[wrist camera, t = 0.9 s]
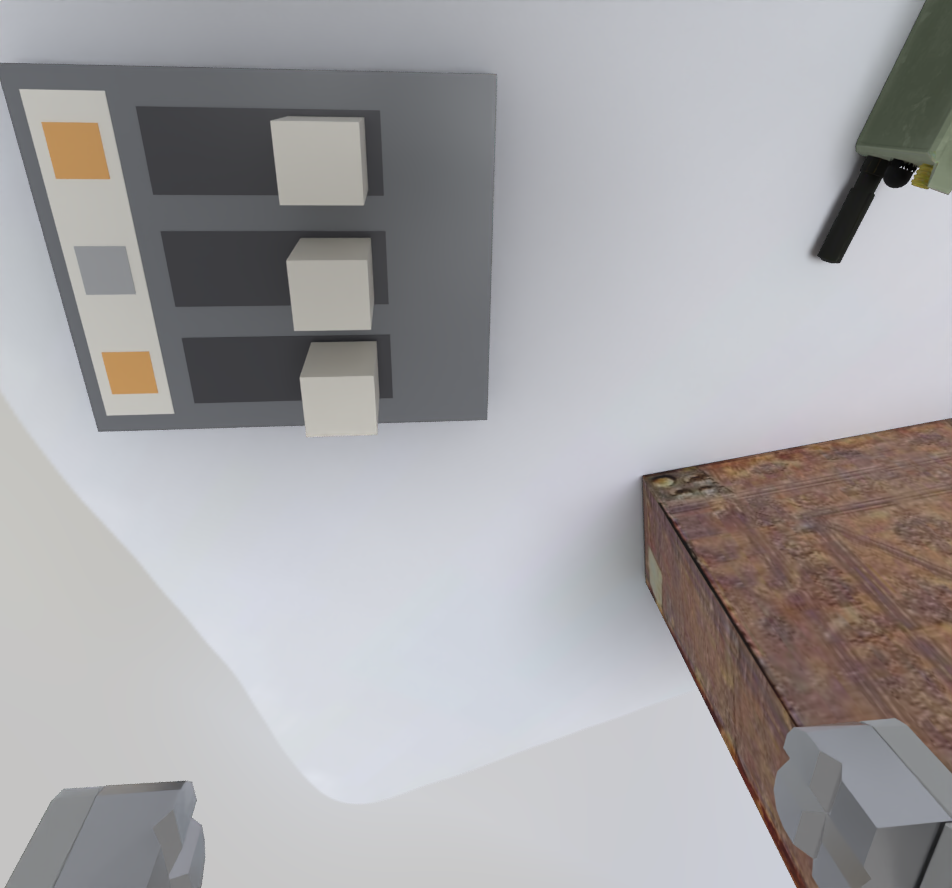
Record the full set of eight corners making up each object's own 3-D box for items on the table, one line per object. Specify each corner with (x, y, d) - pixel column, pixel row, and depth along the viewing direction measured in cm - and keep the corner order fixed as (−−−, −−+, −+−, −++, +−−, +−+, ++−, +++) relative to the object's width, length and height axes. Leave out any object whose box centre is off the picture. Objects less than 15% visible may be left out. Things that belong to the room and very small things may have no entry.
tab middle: (300, 238, 33) (286, 260, 29) (370, 237, 34) (366, 260, 29) (307, 300, 35) (294, 330, 31) (374, 299, 35) (371, 329, 31)
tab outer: (311, 342, 36) (299, 377, 32) (376, 341, 36) (373, 375, 32) (316, 396, 38) (306, 437, 33) (379, 394, 38) (377, 435, 34)
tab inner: (287, 116, 31) (270, 120, 27) (364, 117, 31) (359, 122, 27) (295, 189, 32) (279, 205, 28) (368, 189, 33) (363, 205, 28)
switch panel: (18, 64, 31) (-6, 62, 29) (491, 74, 33) (497, 74, 31) (111, 416, 39) (97, 432, 37) (483, 405, 41) (487, 420, 40)
